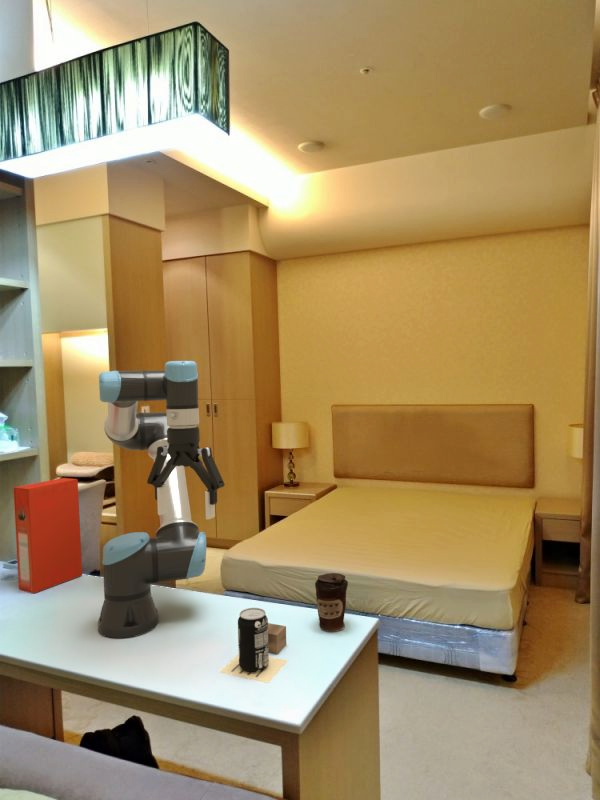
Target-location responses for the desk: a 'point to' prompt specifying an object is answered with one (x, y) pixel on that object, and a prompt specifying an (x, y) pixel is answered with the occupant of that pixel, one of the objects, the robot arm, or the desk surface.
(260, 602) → the desk surface
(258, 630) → the beverage can
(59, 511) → the file binder
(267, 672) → the letter
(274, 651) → the walnut block
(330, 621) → the coffee cup
